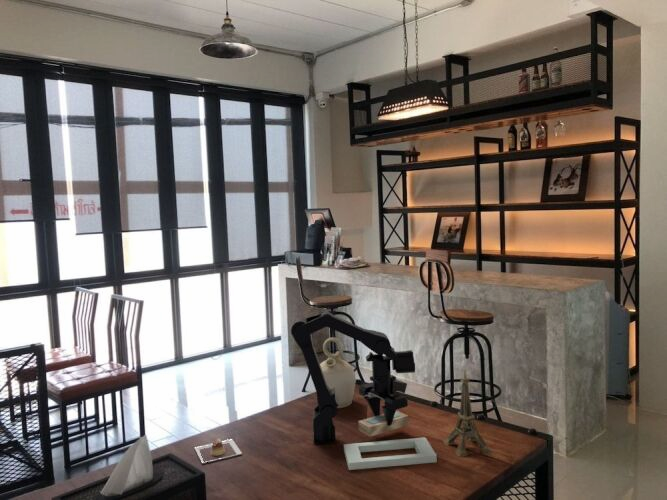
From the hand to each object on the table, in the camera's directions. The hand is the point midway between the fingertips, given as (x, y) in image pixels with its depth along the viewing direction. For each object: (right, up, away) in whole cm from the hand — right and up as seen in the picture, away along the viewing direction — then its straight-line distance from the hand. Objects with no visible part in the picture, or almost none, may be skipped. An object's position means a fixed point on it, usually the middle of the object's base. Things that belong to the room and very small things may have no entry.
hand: (383, 422), depth 170 cm
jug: (-15, -3, +32) cm, 35 cm away
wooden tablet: (+1, -4, +22) cm, 22 cm away
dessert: (-51, -8, -5) cm, 52 cm away
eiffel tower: (+24, -5, -9) cm, 26 cm away
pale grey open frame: (0, -6, -13) cm, 14 cm away
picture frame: (0, -2, 0) cm, 2 cm away
